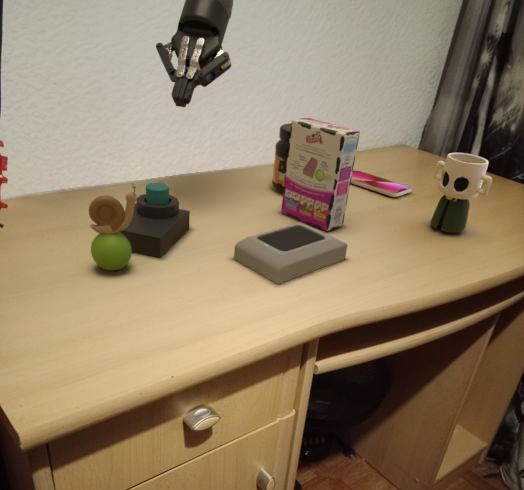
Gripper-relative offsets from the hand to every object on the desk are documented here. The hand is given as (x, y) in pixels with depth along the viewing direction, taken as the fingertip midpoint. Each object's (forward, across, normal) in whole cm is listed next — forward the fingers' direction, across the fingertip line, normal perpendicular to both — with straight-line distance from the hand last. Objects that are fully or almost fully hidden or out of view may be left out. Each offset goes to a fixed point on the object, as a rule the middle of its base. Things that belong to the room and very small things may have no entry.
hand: (179, 103), depth 86 cm
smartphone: (-11, +32, +36) cm, 50 cm away
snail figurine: (+30, 0, -5) cm, 30 cm away
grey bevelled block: (+20, +23, +5) cm, 31 cm away
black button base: (+22, 0, +3) cm, 22 cm away
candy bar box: (+8, +23, +18) cm, 30 cm away
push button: (+16, 0, +3) cm, 16 cm away
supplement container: (-3, +17, +28) cm, 33 cm away
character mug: (+2, +47, +23) cm, 53 cm away
